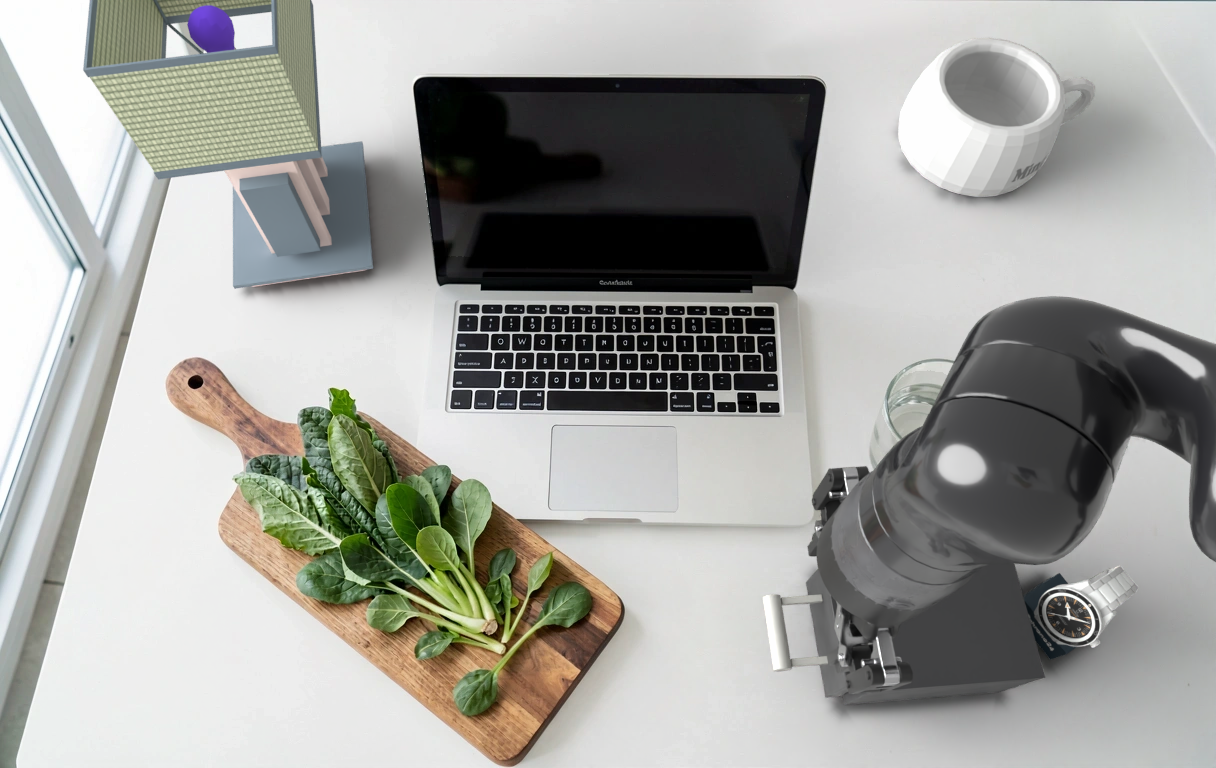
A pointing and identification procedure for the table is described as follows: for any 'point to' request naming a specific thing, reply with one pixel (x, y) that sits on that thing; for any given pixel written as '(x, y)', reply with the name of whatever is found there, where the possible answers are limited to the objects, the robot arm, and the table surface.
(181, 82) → the desk lamp
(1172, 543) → the table surface
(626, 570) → the table surface
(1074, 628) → the watch
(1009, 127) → the mug
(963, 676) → the grey square sleeve
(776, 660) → the drawer
